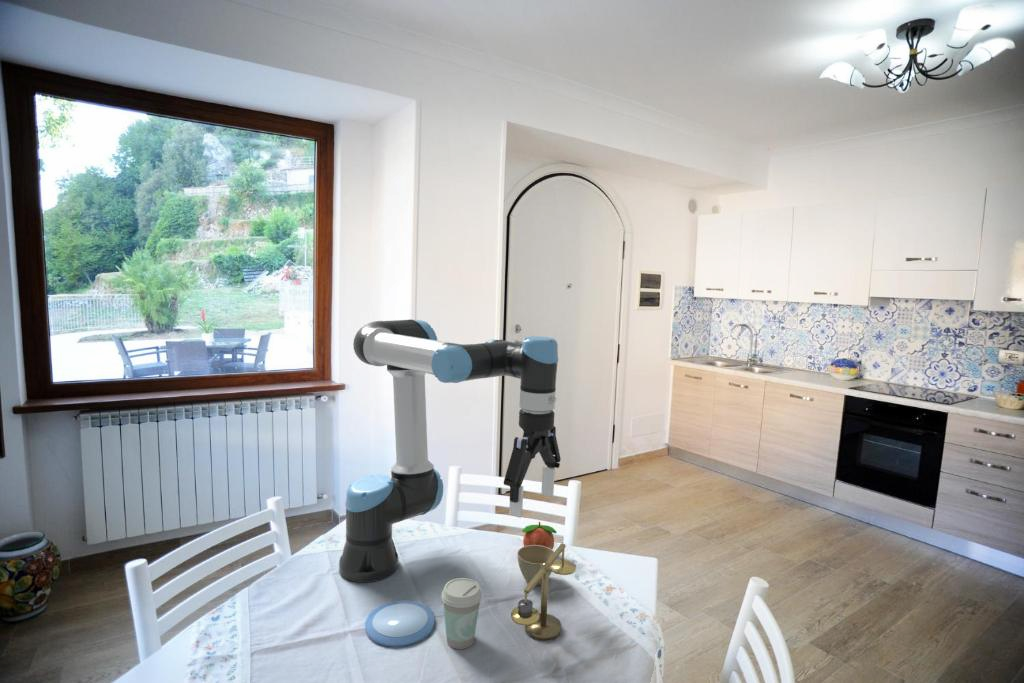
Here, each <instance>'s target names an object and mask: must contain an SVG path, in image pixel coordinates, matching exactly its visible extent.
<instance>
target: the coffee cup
mask: <svg viewBox="0 0 1024 683" xmlns="http://www.w3.org/2000/svg"><path fill="white" fill-rule="evenodd" d="M482 598H483V592H482V590H481V588H480V585H479V582H477V581H476V580H474V579H472V578H466V577H459V578H458V577H457V578H454V579H450V580H449V581H448V582H446V584H444V587H443V589H442V592H441V598H440V599H441V600H442V604H443V616H444V625H445V636H446V643H447V644H448V646H449V647H451V648H453V649H456V650H464V649H467V648H470V647H471V646H472V645H473V644H474V642H475V636H476V631H477V623H478V618H479V611H480V610H479V609H480V604H481V603H480V602H481V600H482Z"/></svg>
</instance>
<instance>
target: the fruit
mask: <svg viewBox="0 0 1024 683" xmlns="http://www.w3.org/2000/svg"><path fill="white" fill-rule="evenodd" d="M521 532H522V533H525V534H524V535H523V539H522V542H523V544H522V545H523V547H525V546H529V545H540V546H545V547H548V548H550V549H552V550H553V551H554V548H555V538H554V534H557V530H556V529H555V528H553V527H552V526H549V525H545V524H541V521H538V524H530V525H527V526H525V527H524V528H523V529H522V530H521Z"/></svg>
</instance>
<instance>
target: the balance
mask: <svg viewBox="0 0 1024 683" xmlns="http://www.w3.org/2000/svg"><path fill="white" fill-rule="evenodd" d="M566 547H567V546H566V544H565V543H564V542H562V543H560V544H559V545H558V547H557V548H556V549H555V550H554V553H553V554H552V555H551V557H550V558H549V559H548V560H547V562H545V563H543V564H542V565H541V569H540V570H539V571H538V573H537V574H536V575H535V576H534V578H533V579H532V580H531V581H530V583H528V584H527V585H526V586H525V588H524V589H523V593H524V599H520V600H519V601H518V602H517V603H518V605H517V606H515V607H513V608H512V610H511V611H510V619H511V621H512V622H514V623H515V624H516V625H519V626H524V631H525V633H526V634H527V635H528V636H529V637H530V638H532V639H534V640H537V641H540V642H547V641H548V642H549V641H553V640H556V639H557V638H559V636H560V635H561V633H562V623H561V621H560V620H559V619H558V617H556V616H555V615H552V614H549V613H548V596H549V594H548V593H549V577H550V576H549V570H551V571H552V572H551V573H554V574H557V575H560V576H568V575H569V576H570V575H572V574H574V573H575V572H576V567H577V566H576V564H575V563H574V562H573V561H571V560H569V559H565V550H566ZM560 555H561V558H559V557H560ZM541 578H542V585H541V590H540V591H541V592H540V593H541V595H540V612H539V610H537V608H535V607H533V606H534V603H533V601H532V600H530V599H528V595H529V594H530V593H531V592H532V590H533V589H534V588H535V587H536V586H537V585H536V584H537V583H538V581H539V580H540V579H541Z"/></svg>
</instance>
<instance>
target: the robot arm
mask: <svg viewBox="0 0 1024 683" xmlns="http://www.w3.org/2000/svg"><path fill="white" fill-rule="evenodd" d="M352 344H353V350H354V351H353V352H354V354H355V356H356V357H357V358H358V360H360V361H361V362H362V363H364V364H367V365H369V366H370V365H371V366H374V367H385V366H386V371H387V372H388V373H389V374H390V375H391V376H392V384H393V386H392V387H393V405H394V407H393V409H394V411H393V412H394V432H395V433H394V437H395V456H396V460H395V461H396V462H395V463H394V465H392V467H391V471H390V472H391V475H390V476H391V477H390V476H389V475H386V474H375V475H373V474H370V475H365V476H363V477H360V478H358V479H356V480H355V481H353V482H352V483H351V484H350V485H349V486H348V488H347V490H346V495H345V504H344V505H345V529H346V530H345V544H344V547H343V550H342V554H341V556H340V558H339V562H338V572H339V574H340V575H341V577H343V578H344V579H346V580H347V581H352V582H356V583H373V582H376V581H380V580H384V579H386V578H388V577H391V575H393V574H394V573H395V572H396V571H397V570H398V568H399V554H398V552H397V549H396V546H395V543H394V539H393V525H394V524H397V523H400V522H403V521H406V520H408V519H413V518H415V517H419V516H422V515H423V516H424V515H426V514H428V513H429V512H433V511H434V510H435V509H437V508H438V506H440V504H441V502H442V500H443V496H444V482H443V479H441V474H440V472H439V471H438V470H436V469H435V467H434V465H435V464H434V463H432V462H431V461H430V460H429V452H428V430H427V429H428V428H427V426H428V425H427V423H428V422H427V403H426V402H427V399H426V374H428V375H433V376H434V377H435V378H437V380H438V381H439V382H440V383H444V384H446V383H447V384H448V383H449V384H450V383H452V384H459V383H460V382H467V381H473V380H474V381H475V380H480V379H487V378H489V379H490V378H495V377H503V376H504V377H505V376H506V377H512V378H517V379H520V389H519V390H520V392H519V408H520V410H519V411H518V426H519V428H521V429H522V430H523V433H522V437H518V436H516V437H514V440H513V447H512V450H511V451H512V452H511V456H510V459H509V462H508V464H507V465H508V466H507V469H506V473H505V476H504V479H503V485H504V486H507V487H509V511H508V514H509V515H510V516H513V517H516V518H519V519H521V518H522V517H523V508H524V507H523V505H524V504H523V503H524V501H523V500H524V486H523V485H522V484H523V482H524V479H525V477H526V475H527V472H528V469H529V468H530V465H531V462H532V460H534V459H535V457H536V455H537V454H539V455H540V457H541V459H542V461H543V463H544V465H543V466H542V472H541V474H542V476H541V493H540V494H541V495H543V496H547V497H550V498H553V497H554V493H555V492H554V490H555V476H556V474H555V473H556V472H555V471H556V469H559V468H560V466H561V464H560V462H561V460H562V459H561V454H560V450H559V449H560V448H559V445H558V440H557V439H558V438H557V436H556V435H557V434H556V433H557V431H556V430H557V429H556V426H555V414H556V413H555V412H554V410H555V407H556V406H555V405H556V401H557V398H556V386H557V385H556V383H557V374H558V373H557V372H558V363H559V362H558V361H559V356H558V355H559V354H558V353H559V350H558V349H559V348H558V342H557V340H556V339H555V338H553V337H547V336H535V335H533V336H526V337H524V338H523V339H522V343H519V342H518V343H517V342H514V341H513V342H512V341H507V340H504V339H489V340H487V341H486V342H482V343H473V344H471V343H470V344H469V343H468V344H460V343H454V342H448V341H442V340H438V337H437V334H436V332H435V330H434V329H433V327H432V326H431V325H430V324H429V323H428V322H427V321H425V320H421V319H411V318H410V319H400V320H399V319H398V320H396V319H395V320H375V321H371V322H369V323H367V324H364V325H363V326H362V327H360V328H359V329H358V330H357V332H356V334H355V336H354V338H353V343H352Z"/></svg>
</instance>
